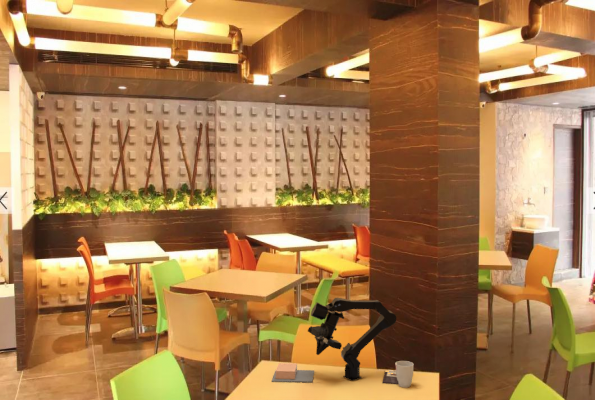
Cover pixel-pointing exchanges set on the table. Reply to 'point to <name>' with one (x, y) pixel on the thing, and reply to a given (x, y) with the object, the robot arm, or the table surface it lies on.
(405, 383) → the cup
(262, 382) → the table surface
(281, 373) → the salmon pink block
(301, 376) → the mat
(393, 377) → the chocolate bar
